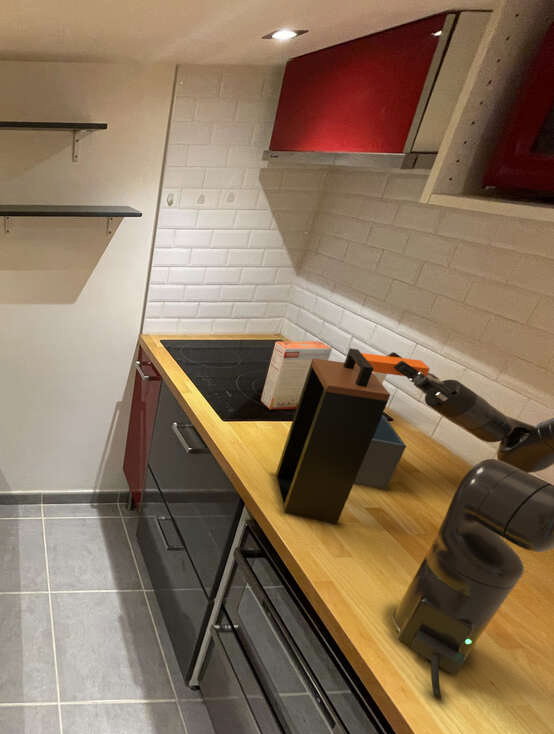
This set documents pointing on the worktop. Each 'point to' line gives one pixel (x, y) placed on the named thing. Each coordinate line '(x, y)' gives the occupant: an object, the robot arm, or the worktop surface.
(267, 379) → the cracker box
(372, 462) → the blue open bin
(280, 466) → the box
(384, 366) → the bar
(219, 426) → the worktop surface
